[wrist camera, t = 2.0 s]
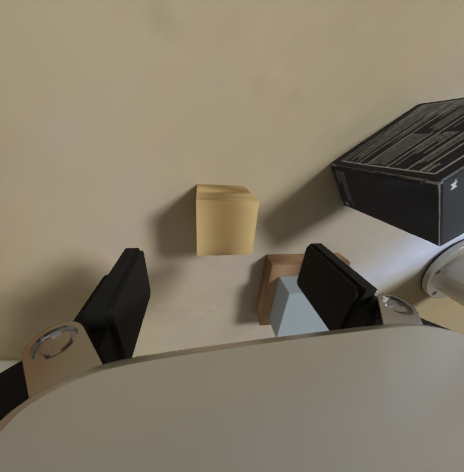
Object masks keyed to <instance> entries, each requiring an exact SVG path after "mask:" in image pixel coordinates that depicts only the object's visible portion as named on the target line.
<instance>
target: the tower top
mask: <svg viewBox="0 0 464 472" xmlns="http://www.w3.org/2000/svg"><path fill="white" fill-rule="evenodd" d="M297 278H298V276H283V277H279V281H278V285H277V289H276V293H275V297H274V301H273V305H272V309H271V313H270V317H269V320H270V323H271V326H272V328H273V331H274V333H275V336H276V337H282V336H290V335H298V334H306V333H314V332H322V331H329V329H328V328H327V327H326V325H325V324H324V322H323V321H322V320H321V318H320V317H319V315H318V314H317V312H316V311H315V310H314V308H313V307H312V305H311V304H310V302H309V301H308V300H307V298H306V297H305V295H304V294H303V293H302V291H301V290H300V288H299V287H298V285H297Z"/></svg>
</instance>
